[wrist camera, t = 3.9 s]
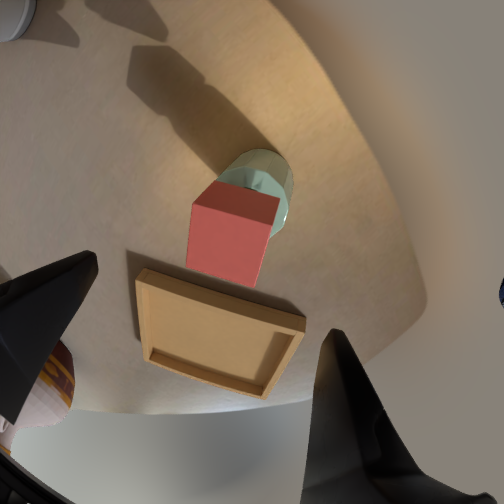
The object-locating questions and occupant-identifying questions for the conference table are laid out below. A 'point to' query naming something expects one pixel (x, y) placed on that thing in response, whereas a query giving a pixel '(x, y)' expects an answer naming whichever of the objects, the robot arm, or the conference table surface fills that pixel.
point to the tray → (214, 335)
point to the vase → (263, 178)
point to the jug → (44, 397)
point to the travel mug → (15, 18)
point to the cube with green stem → (230, 232)
